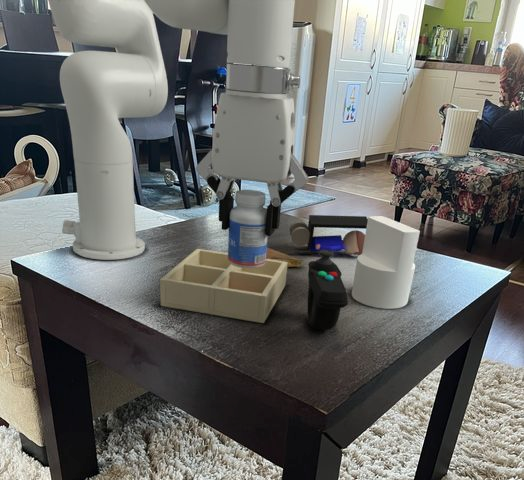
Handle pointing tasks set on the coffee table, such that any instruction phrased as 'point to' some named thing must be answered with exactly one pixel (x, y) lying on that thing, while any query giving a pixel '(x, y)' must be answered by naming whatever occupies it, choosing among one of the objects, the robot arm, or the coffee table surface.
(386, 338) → the coffee table surface
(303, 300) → the coffee table surface
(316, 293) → the controller
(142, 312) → the coffee table surface
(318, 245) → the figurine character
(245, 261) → the pill bottle
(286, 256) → the shard
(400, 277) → the cylinder with rectangular tab
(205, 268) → the open box
